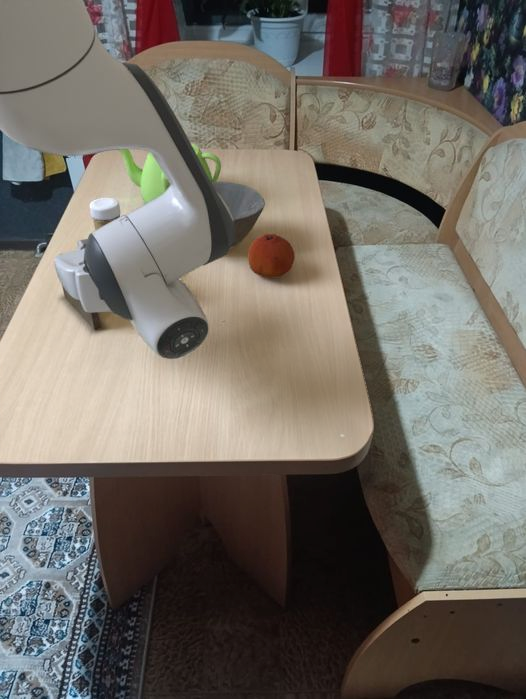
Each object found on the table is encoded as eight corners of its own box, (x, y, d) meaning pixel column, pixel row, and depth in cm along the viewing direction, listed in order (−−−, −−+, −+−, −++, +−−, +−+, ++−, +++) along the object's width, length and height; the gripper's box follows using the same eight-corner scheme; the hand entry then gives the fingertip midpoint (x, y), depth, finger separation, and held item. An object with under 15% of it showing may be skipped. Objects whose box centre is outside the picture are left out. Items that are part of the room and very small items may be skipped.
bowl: (264, 268, 106) (265, 221, 100) (168, 267, 106) (163, 220, 99) (263, 224, 121) (264, 181, 114) (178, 223, 120) (174, 179, 114)
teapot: (233, 204, 129) (232, 142, 119) (162, 229, 118) (155, 163, 109) (186, 179, 139) (182, 121, 130) (118, 200, 129) (108, 138, 120)
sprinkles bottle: (135, 276, 94) (124, 203, 85) (112, 286, 91) (98, 211, 83) (121, 266, 96) (109, 194, 88) (98, 275, 94) (83, 201, 85)
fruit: (247, 285, 101) (247, 247, 96) (248, 261, 108) (248, 224, 103) (294, 287, 101) (297, 248, 96) (292, 262, 108) (295, 225, 103)
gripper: (207, 243, 79) (171, 206, 88) (64, 277, 71) (42, 232, 80) (209, 280, 83) (175, 241, 92) (74, 316, 75) (51, 269, 84)
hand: (112, 237), depth 86 cm, fingers open, 8 cm apart
